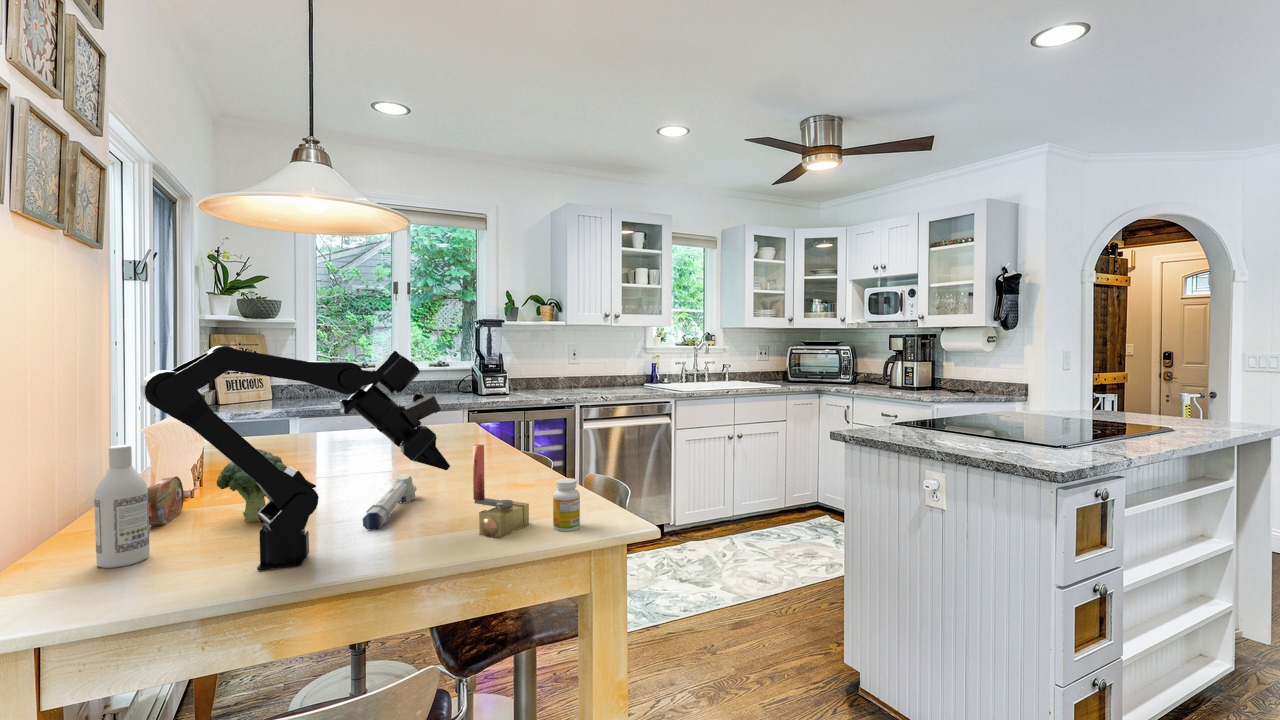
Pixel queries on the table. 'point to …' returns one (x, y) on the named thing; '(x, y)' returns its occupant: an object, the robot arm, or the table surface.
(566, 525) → the supplement bottle
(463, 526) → the table surface
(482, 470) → the lever
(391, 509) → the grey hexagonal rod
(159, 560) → the table surface
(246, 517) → the vegetable
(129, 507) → the bath foam
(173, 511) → the tin
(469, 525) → the table surface
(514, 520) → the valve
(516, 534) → the table surface
